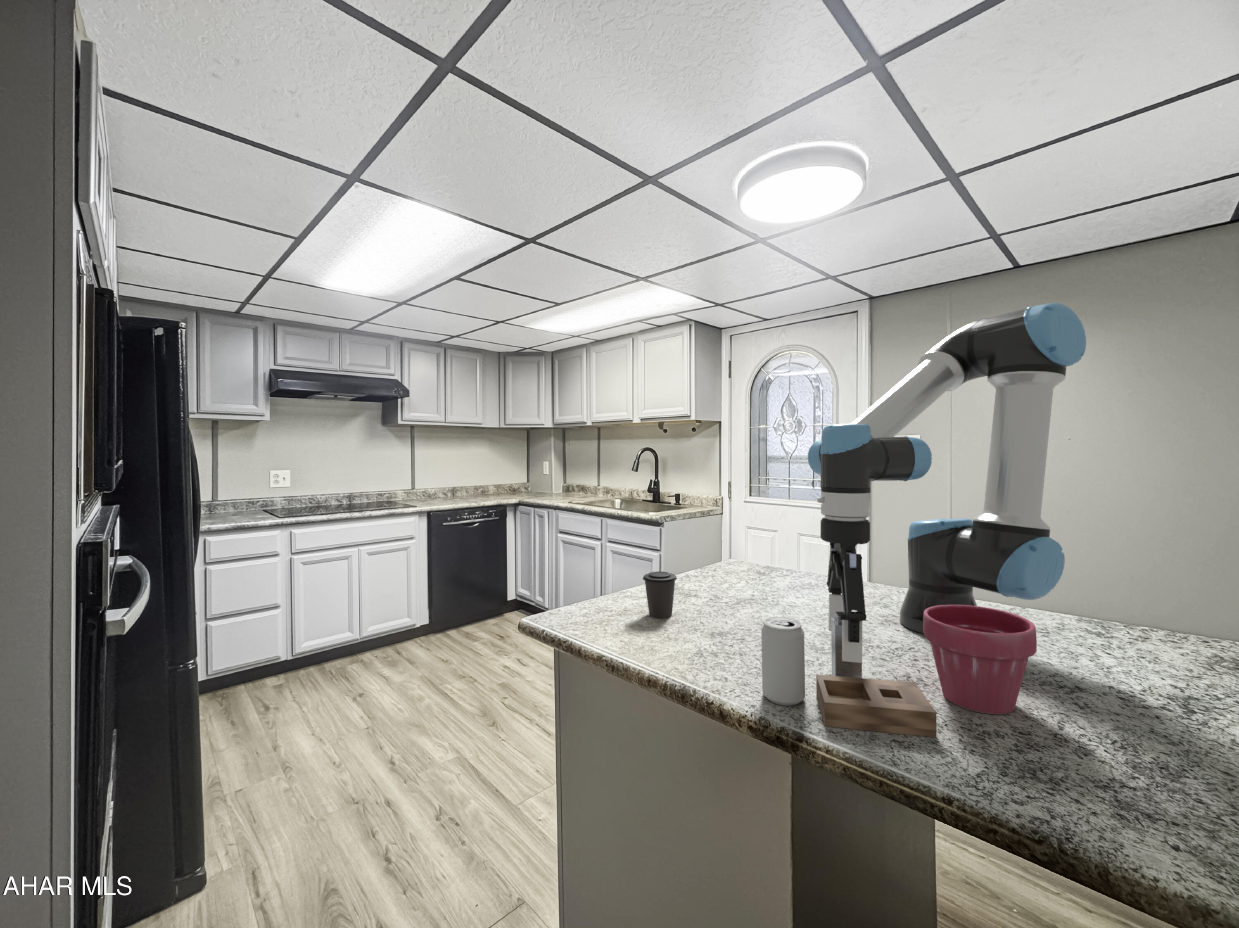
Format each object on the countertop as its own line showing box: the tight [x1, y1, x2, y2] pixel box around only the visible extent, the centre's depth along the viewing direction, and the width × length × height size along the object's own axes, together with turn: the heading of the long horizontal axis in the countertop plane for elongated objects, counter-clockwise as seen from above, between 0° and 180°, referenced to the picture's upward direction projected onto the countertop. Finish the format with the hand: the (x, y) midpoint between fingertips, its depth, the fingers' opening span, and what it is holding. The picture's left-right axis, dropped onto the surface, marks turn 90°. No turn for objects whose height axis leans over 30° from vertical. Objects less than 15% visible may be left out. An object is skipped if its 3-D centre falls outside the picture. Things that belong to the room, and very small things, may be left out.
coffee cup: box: [642, 571, 678, 620], centre depth 122 cm, size 8×8×10 cm
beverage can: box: [760, 616, 806, 707], centre depth 80 cm, size 6×6×12 cm
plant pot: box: [923, 605, 1038, 715], centre depth 79 cm, size 14×14×13 cm
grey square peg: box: [830, 611, 863, 678], centre depth 86 cm, size 4×4×11 cm
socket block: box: [815, 674, 937, 738], centre depth 75 cm, size 14×9×3 cm, turn 76°
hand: (843, 645), depth 86 cm, fingers open, 13 cm apart
